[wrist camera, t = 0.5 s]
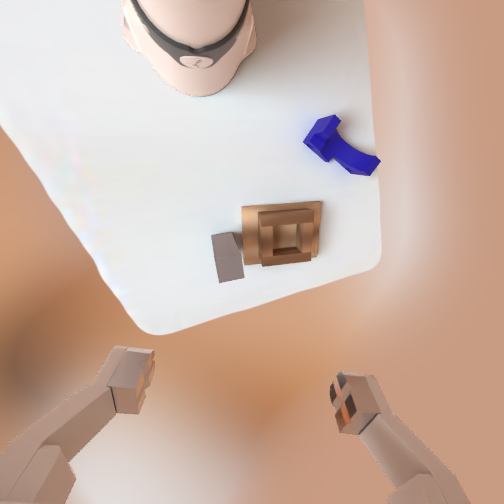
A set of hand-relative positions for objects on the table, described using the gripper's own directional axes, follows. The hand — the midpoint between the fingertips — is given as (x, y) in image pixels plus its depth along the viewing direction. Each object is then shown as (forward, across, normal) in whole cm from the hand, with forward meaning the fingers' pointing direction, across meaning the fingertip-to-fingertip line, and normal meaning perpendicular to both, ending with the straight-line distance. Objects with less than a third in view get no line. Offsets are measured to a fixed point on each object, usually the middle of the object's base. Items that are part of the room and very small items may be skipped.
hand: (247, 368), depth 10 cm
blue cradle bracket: (+42, -15, -6) cm, 45 cm away
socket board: (+38, -8, +11) cm, 40 cm away
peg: (+35, +3, +14) cm, 38 cm away
